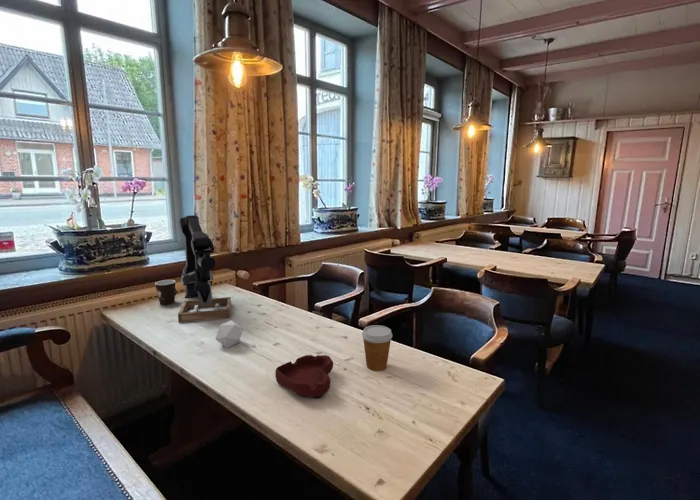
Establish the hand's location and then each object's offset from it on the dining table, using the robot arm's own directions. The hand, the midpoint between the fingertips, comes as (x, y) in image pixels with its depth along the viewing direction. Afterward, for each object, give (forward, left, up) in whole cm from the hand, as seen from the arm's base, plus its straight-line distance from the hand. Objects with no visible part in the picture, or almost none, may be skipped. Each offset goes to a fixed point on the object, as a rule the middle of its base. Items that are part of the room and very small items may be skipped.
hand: (205, 300), depth 165 cm
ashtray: (+69, +32, -6) cm, 76 cm away
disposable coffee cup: (+65, +56, -6) cm, 86 cm away
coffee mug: (-18, -19, -6) cm, 26 cm away
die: (+36, +11, -6) cm, 38 cm away
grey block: (0, 0, -1) cm, 1 cm away
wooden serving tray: (0, 0, -6) cm, 6 cm away
